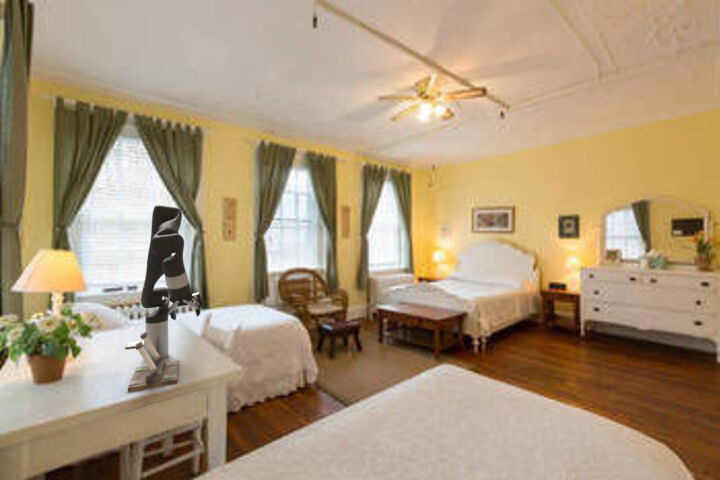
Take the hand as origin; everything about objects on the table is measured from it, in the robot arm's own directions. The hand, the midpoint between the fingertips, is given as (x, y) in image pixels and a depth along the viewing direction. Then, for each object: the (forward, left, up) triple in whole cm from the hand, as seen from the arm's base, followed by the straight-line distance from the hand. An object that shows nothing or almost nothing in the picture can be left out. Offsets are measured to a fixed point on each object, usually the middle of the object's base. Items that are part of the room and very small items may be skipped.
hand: (186, 316), depth 129 cm
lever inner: (-18, +6, -20) cm, 28 cm away
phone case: (-50, +35, -26) cm, 67 cm away
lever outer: (-10, -6, -20) cm, 23 cm away
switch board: (-14, 0, -25) cm, 29 cm away
